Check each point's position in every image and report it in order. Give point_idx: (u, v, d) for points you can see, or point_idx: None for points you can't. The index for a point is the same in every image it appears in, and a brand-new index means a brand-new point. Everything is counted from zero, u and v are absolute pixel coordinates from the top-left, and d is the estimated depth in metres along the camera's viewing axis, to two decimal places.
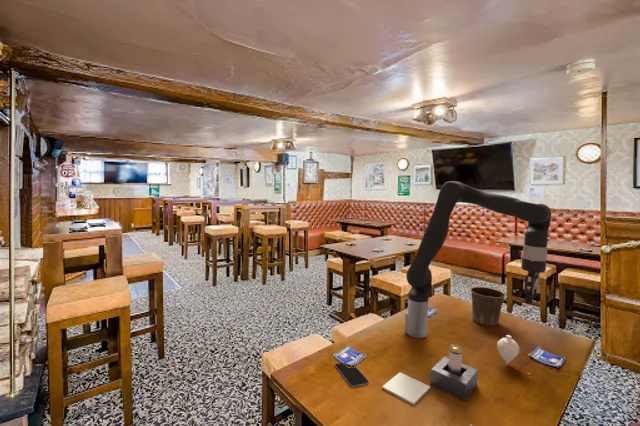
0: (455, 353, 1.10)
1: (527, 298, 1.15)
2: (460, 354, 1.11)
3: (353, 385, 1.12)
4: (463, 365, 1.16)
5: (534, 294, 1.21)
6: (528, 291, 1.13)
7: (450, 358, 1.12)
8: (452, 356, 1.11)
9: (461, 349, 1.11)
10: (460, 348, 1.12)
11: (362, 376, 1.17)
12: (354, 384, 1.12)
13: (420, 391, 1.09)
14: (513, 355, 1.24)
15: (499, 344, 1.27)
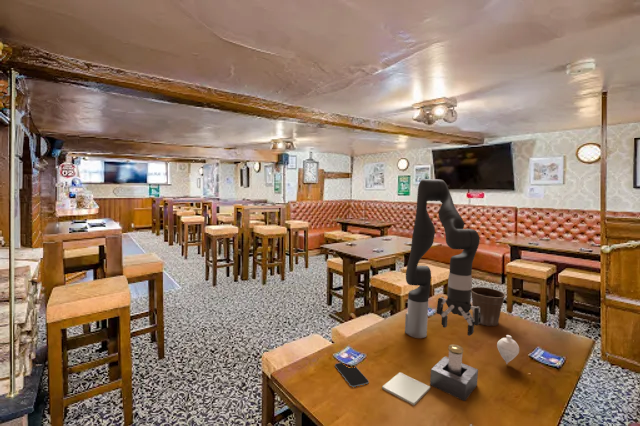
0: (455, 353, 1.10)
1: (472, 330, 1.08)
2: (460, 354, 1.11)
3: (353, 385, 1.12)
4: (463, 365, 1.16)
5: (446, 322, 1.15)
6: (479, 322, 1.07)
7: (450, 358, 1.12)
8: (452, 356, 1.11)
9: (461, 349, 1.11)
10: (460, 348, 1.12)
11: (362, 376, 1.17)
12: (354, 384, 1.12)
13: (420, 391, 1.09)
14: (513, 355, 1.24)
15: (499, 344, 1.27)
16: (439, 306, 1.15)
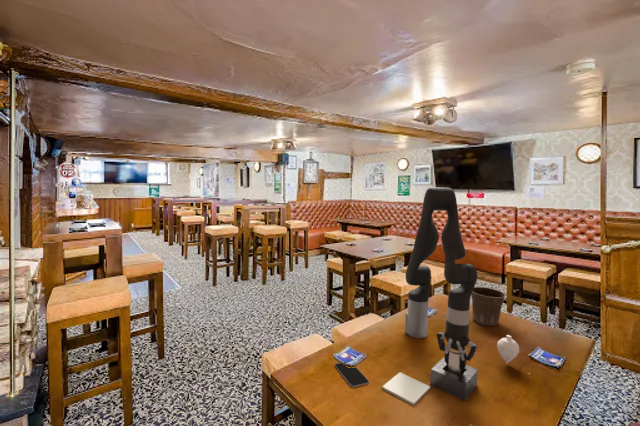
0: (455, 353, 1.10)
1: (465, 364, 1.10)
2: None
3: (353, 385, 1.12)
4: None
5: None
6: (471, 358, 1.09)
7: (450, 358, 1.12)
8: (452, 355, 1.11)
9: None
10: None
11: (362, 376, 1.17)
12: (354, 384, 1.12)
13: (420, 391, 1.09)
14: (513, 355, 1.24)
15: (499, 344, 1.27)
16: (440, 342, 1.15)
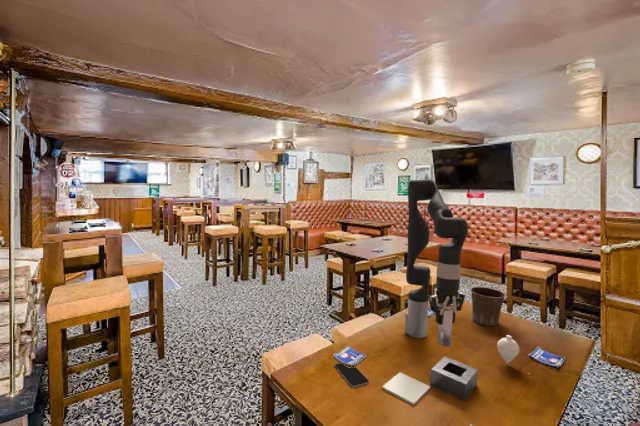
0: (452, 309, 1.08)
1: None
2: None
3: (353, 385, 1.12)
4: (463, 365, 1.16)
5: None
6: None
7: (447, 317, 1.08)
8: (450, 313, 1.08)
9: None
10: None
11: (362, 376, 1.17)
12: (354, 384, 1.12)
13: (420, 391, 1.09)
14: (513, 355, 1.24)
15: (499, 344, 1.27)
16: (436, 305, 1.07)
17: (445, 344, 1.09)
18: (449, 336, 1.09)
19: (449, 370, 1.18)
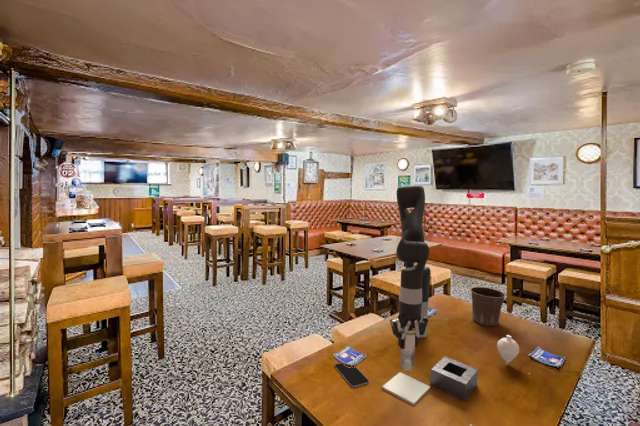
0: (414, 333, 1.07)
1: None
2: None
3: (354, 385, 1.12)
4: (463, 365, 1.16)
5: None
6: None
7: (408, 341, 1.07)
8: (411, 337, 1.07)
9: None
10: None
11: (362, 376, 1.17)
12: (355, 384, 1.12)
13: (420, 391, 1.09)
14: (513, 355, 1.24)
15: (499, 344, 1.27)
16: (397, 329, 1.07)
17: (407, 368, 1.08)
18: (411, 360, 1.08)
19: (449, 370, 1.18)
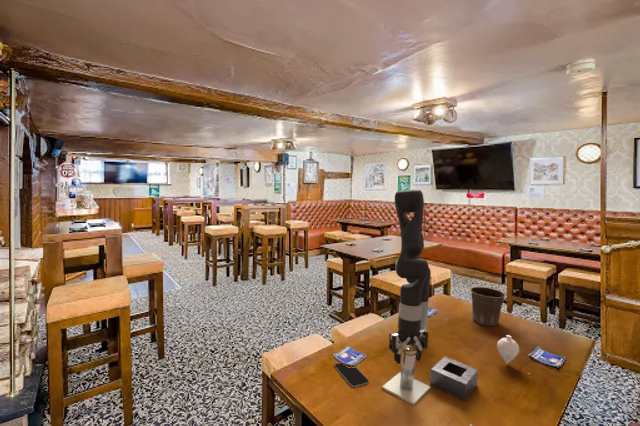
0: (414, 355, 1.08)
1: None
2: None
3: (354, 385, 1.12)
4: (463, 365, 1.16)
5: None
6: None
7: (408, 362, 1.08)
8: (412, 358, 1.08)
9: (413, 347, 1.10)
10: (411, 347, 1.10)
11: (362, 376, 1.17)
12: (355, 384, 1.12)
13: (420, 391, 1.09)
14: (513, 355, 1.24)
15: (499, 344, 1.27)
16: (394, 344, 1.07)
17: (406, 388, 1.09)
18: (411, 381, 1.09)
19: (449, 370, 1.18)
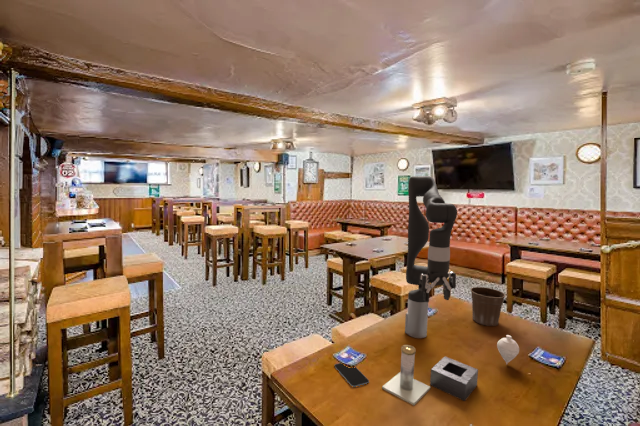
0: (413, 354, 1.08)
1: None
2: None
3: (354, 385, 1.12)
4: (463, 365, 1.16)
5: None
6: None
7: (408, 361, 1.08)
8: (411, 357, 1.08)
9: (412, 347, 1.11)
10: (410, 346, 1.11)
11: (362, 376, 1.17)
12: (355, 384, 1.12)
13: (420, 391, 1.09)
14: (513, 355, 1.24)
15: (499, 344, 1.27)
16: (424, 283, 1.14)
17: (406, 388, 1.09)
18: (410, 380, 1.09)
19: (449, 370, 1.18)
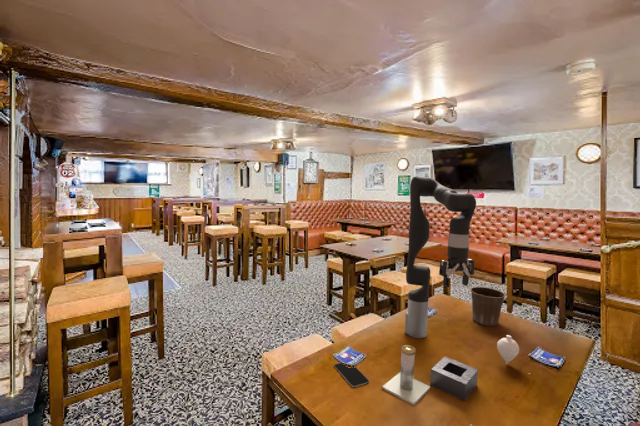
0: (413, 354, 1.08)
1: None
2: None
3: (354, 385, 1.12)
4: (463, 365, 1.16)
5: None
6: None
7: (408, 361, 1.08)
8: (411, 357, 1.08)
9: (412, 347, 1.11)
10: (410, 346, 1.11)
11: (362, 376, 1.17)
12: (355, 384, 1.12)
13: (420, 391, 1.09)
14: (513, 355, 1.24)
15: (499, 344, 1.27)
16: (445, 269, 1.21)
17: (406, 388, 1.09)
18: (410, 380, 1.09)
19: (449, 370, 1.18)
